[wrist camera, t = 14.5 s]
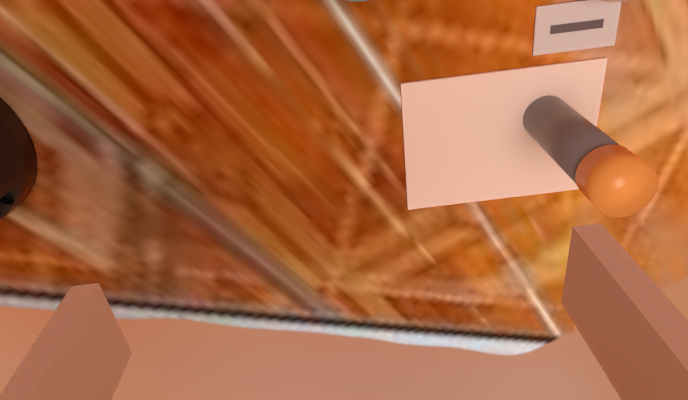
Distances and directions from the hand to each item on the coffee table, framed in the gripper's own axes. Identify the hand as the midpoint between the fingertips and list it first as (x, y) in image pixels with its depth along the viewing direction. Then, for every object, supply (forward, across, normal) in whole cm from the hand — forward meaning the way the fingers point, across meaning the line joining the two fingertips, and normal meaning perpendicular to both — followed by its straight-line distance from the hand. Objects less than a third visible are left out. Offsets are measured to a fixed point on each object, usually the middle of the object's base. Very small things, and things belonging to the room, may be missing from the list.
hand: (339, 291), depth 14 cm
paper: (+32, +15, -11) cm, 37 cm away
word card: (+32, +21, -2) cm, 38 cm away
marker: (+31, +19, -9) cm, 38 cm away
